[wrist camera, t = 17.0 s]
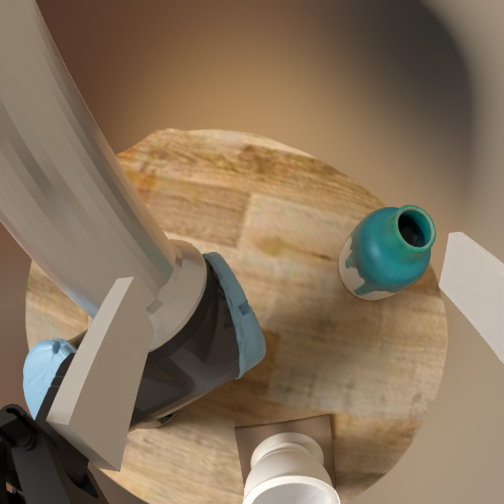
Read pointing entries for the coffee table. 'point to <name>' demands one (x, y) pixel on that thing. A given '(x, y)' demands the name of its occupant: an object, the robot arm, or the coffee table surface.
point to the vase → (386, 252)
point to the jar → (288, 478)
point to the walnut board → (295, 431)
